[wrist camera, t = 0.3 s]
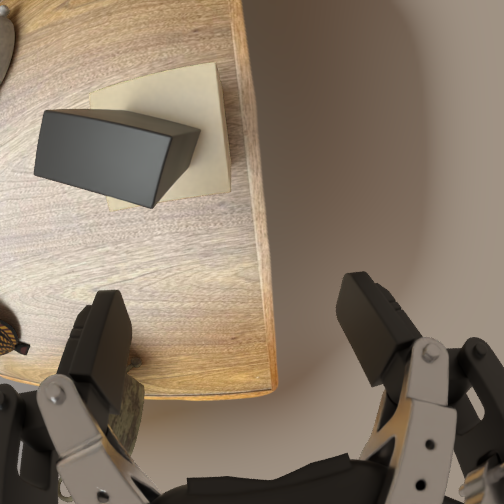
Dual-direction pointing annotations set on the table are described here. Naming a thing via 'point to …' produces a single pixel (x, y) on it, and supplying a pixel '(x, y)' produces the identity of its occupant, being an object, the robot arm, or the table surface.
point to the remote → (114, 152)
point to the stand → (184, 112)
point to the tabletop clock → (125, 415)
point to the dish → (5, 41)
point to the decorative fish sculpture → (10, 340)
